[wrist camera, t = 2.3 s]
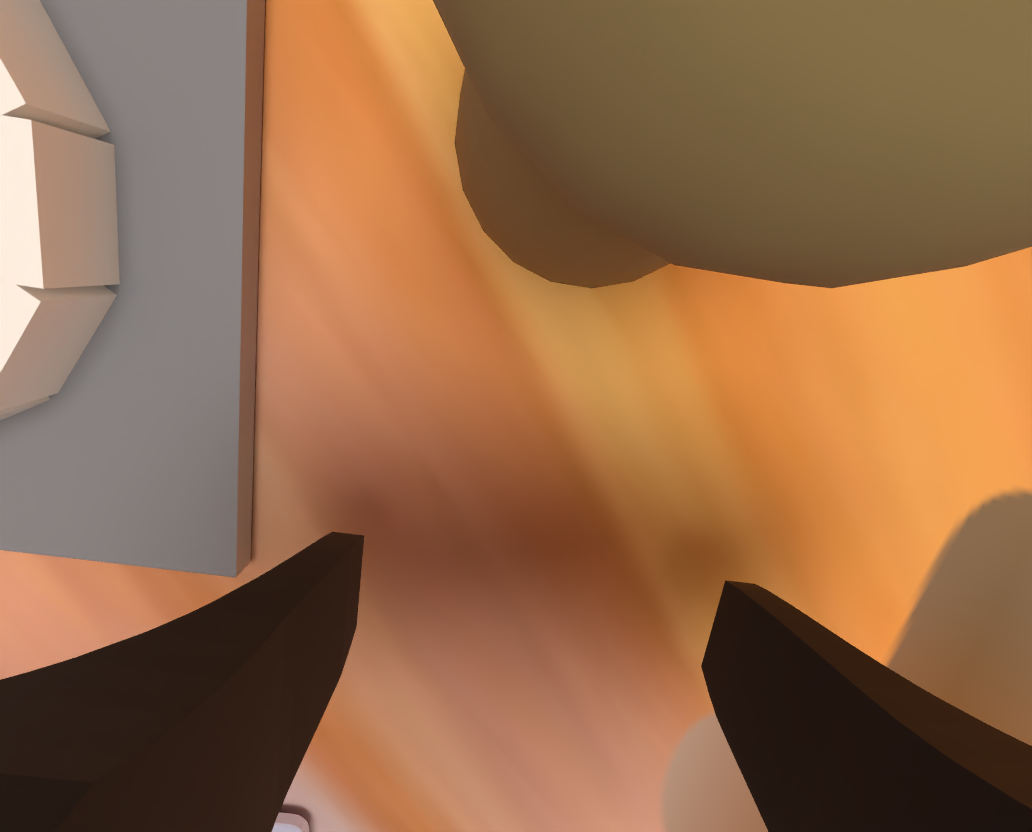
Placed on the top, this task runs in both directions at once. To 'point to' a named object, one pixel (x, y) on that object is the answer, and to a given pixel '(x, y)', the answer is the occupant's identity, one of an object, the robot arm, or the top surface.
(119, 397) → the ring stand
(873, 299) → the top surface
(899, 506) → the top surface
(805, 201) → the cork
